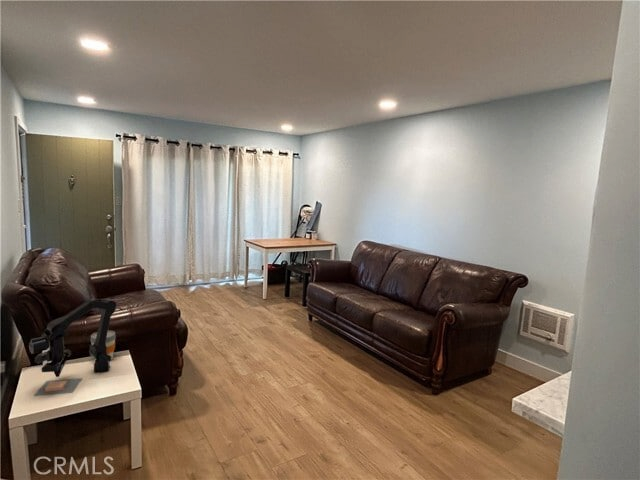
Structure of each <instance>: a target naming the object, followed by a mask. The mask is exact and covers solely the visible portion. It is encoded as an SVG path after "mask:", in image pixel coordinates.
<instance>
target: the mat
mask: <svg viewBox="0 0 640 480" xmlns="http://www.w3.org/2000/svg"><path fill="white" fill-rule="evenodd" d="M82 380H83V377H79V378H66V379H64V378H63V379H53V380H50V379H49V380H46V381H45V382H44V383H43V384H42V385H41V387H40V388H39V389H38V390H37V392H36V393H34V395H33V397H39V396H51V395H65V394H73V393H74V392H75V390H76V389H77V387H78V386H79V384H80V383H81V381H82ZM57 381H67V384H66V386H65V387H64V388H63V390H59V391H47V392H45V388H46V387H47V386H48V384H49V383H50V382H57Z"/></svg>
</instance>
